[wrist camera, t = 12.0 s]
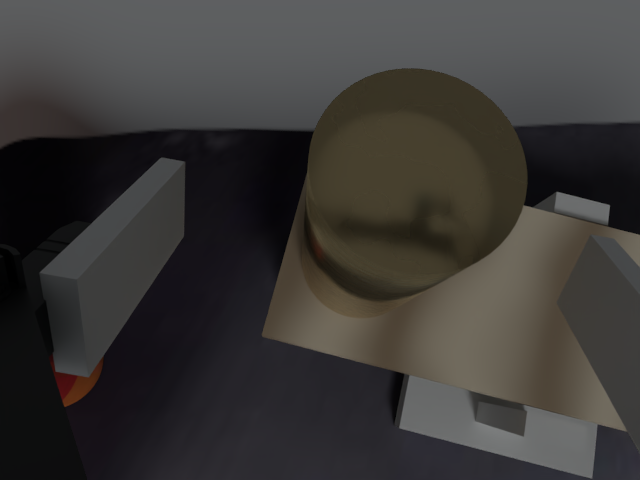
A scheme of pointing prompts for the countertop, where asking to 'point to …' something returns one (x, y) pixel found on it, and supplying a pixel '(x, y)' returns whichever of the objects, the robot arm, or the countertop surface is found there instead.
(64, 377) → the paper cup
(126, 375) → the countertop surface
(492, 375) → the beam
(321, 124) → the olive round cylinder
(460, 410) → the seesaw stand
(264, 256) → the countertop surface
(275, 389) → the countertop surface
